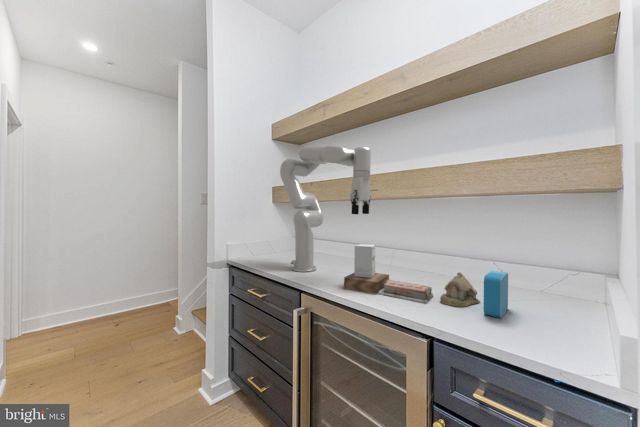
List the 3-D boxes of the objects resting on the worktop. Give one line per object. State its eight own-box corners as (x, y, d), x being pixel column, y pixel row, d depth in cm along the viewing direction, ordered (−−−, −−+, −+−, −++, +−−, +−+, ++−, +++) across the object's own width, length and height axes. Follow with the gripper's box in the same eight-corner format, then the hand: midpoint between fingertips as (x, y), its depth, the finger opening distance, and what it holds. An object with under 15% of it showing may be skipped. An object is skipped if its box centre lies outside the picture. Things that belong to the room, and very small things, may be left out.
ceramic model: (450, 293, 104) (450, 267, 104) (483, 300, 96) (483, 272, 96) (434, 302, 95) (434, 273, 95) (469, 310, 87) (469, 279, 87)
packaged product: (434, 284, 101) (426, 291, 93) (434, 297, 101) (426, 305, 93) (387, 277, 111) (377, 282, 103) (387, 289, 111) (377, 295, 103)
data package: (491, 305, 91) (492, 269, 91) (508, 308, 88) (508, 271, 88) (483, 315, 82) (483, 276, 82) (500, 319, 79) (501, 278, 79)
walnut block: (344, 289, 111) (344, 277, 111) (358, 281, 123) (358, 270, 122) (377, 295, 103) (377, 282, 103) (388, 286, 115) (389, 274, 115)
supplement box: (371, 278, 108) (371, 246, 108) (353, 276, 111) (353, 245, 111) (375, 274, 115) (375, 244, 115) (358, 272, 118) (358, 243, 118)
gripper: (363, 177, 131) (362, 213, 131) (344, 174, 117) (343, 214, 117) (377, 177, 126) (376, 214, 127) (359, 173, 112) (358, 214, 113)
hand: (360, 214), depth 122 cm, fingers open, 9 cm apart
